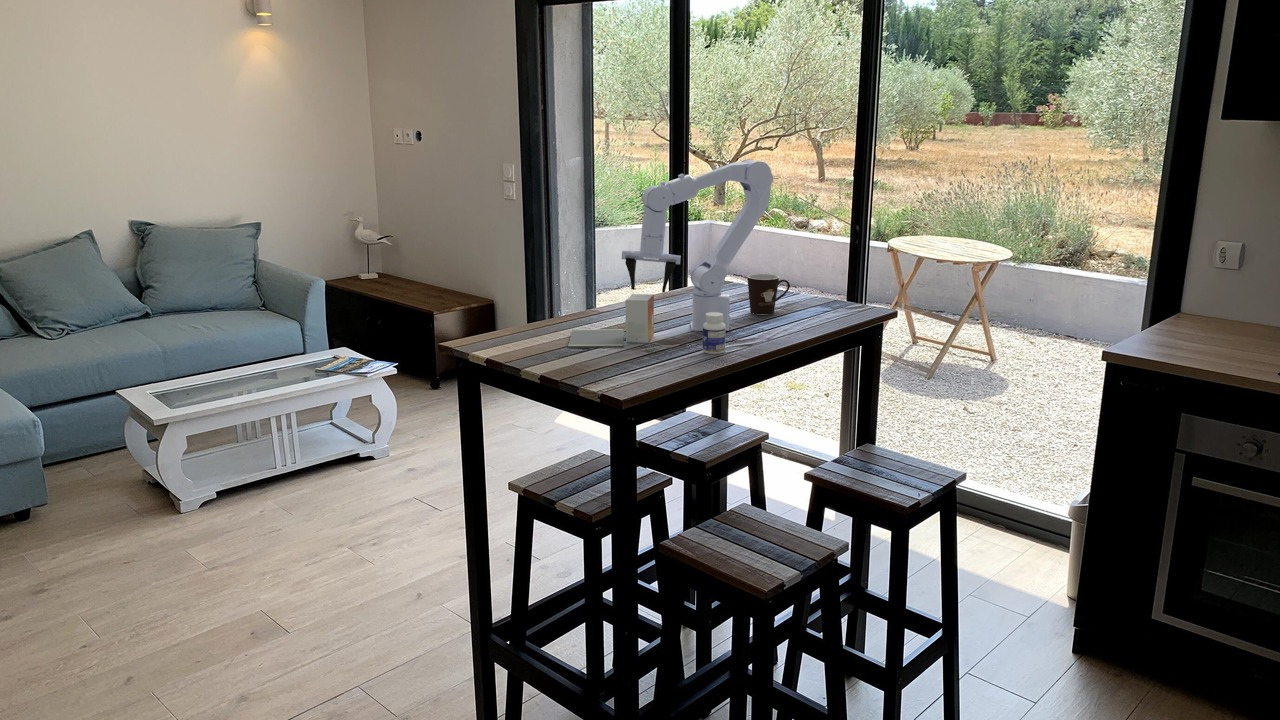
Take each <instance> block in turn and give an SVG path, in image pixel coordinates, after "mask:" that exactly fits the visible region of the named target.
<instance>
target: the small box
mask: <svg viewBox="0 0 1280 720" xmlns="http://www.w3.org/2000/svg"><path fill="white" fill-rule="evenodd" d="M654 297H655V296H654V294H650V293H649V294H647V293H646V294H645V293H631V295H630V296H628V298H626V299H625V301H624V303H625V342H626V343H636V344H637V343H643V344H648V343H650V341H651V339H652V338H654V334H655V331H654V327H655V326H654V324H655V322H654V321H655V319H654V317H655V313H654V312H655V311H654V310H655V309H654V308H655V307H654V305H655V303H654V301H655V299H654Z"/></svg>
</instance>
